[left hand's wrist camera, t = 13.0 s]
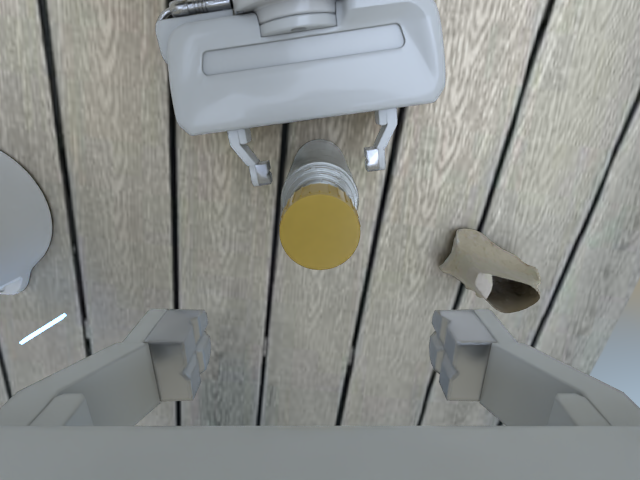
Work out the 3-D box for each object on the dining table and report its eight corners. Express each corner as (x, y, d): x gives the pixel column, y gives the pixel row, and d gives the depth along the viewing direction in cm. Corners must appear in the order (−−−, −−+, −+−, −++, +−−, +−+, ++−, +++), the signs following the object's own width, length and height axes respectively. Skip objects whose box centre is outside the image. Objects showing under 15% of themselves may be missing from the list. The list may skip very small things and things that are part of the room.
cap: (267, 221, 20) (261, 237, 18) (316, 166, 19) (316, 175, 17) (322, 265, 21) (323, 285, 19) (372, 215, 20) (378, 230, 18)
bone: (432, 259, 41) (436, 333, 34) (458, 207, 36) (470, 281, 29) (510, 277, 41) (532, 356, 34) (548, 227, 36) (583, 307, 29)
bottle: (283, 167, 36) (249, 235, 18) (317, 128, 34) (315, 158, 17) (321, 200, 37) (323, 293, 19) (356, 163, 36) (391, 226, 18)
